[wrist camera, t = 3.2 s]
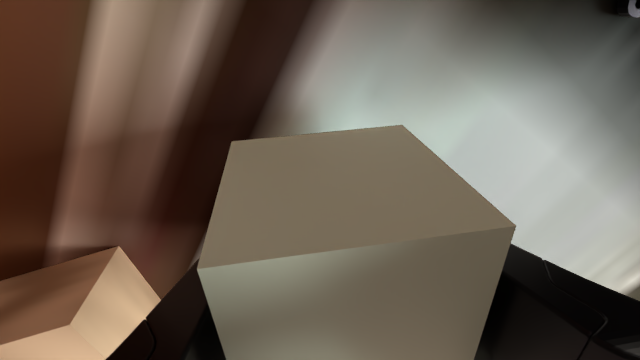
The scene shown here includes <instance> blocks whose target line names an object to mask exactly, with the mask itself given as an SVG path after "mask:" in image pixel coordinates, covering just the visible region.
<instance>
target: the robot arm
mask: <svg viewBox="0 0 640 360" xmlns="http://www.w3.org/2000/svg"><path fill="white" fill-rule="evenodd" d="M635 3H636V4H635ZM617 13H618V14H619V15H620V16H622V17H640V0H637V2H636V0H618V3H617ZM199 260H200V258H199V259H198V260H197V261H196V262H195V263H194V265H193V266H192V267H191V268H190V269H189V270H188V271H187V272H186V273H185V274H184V276H183V277H182V278H181V279H180V280H179V281H178V282H177V283H176V284H175V285H174V287H173V288H172V289H171V290H170V291H169V292H168V293H167V294H166V295H165V296H164V298H163V299H162V300H161V301H160V302H159V303H158V304H157V305H156V306H155V307H154V309H153V310H152V311H151V312H150V313H149V314H148V315H147V316H146V320H145V319H144V320H142V322H141V323H140V324H139V325H138V326H137V327H136V328H135V329H134V330H133V331H132V333H131V334H130V335H129V336H128V337H127V338H126V339H125V340H124V341H123V342H122V343H121V344H120V345H119V346H118V347H117V348H116V349H115V350H114V352H113V353H112V354H111V355H110V356H109V357H107V358H106V359H105V360H226V357H225V354H224V351H223V348H222V345H221V342H220V339H219V336H218V333H217V330H216V326H215V323H214V320H213V317H212V314H211V311H210V308H209V305H208V302H207V299H206V296H205V293H204V290H203V287H202V283H201V280H200V277H199V274H198V271H197V267H198V263H199ZM474 360H640V301H638V300H635V299H633V298H631V297H628V296H626V295H623V294H621V293H618V292H616V291H614V290H611V289H609V288H606V287H604V286H602V285H599V284H597V283H595V282H592V281H590V280H588V279H585V278H583V277H581V276H579V275H576V274H574V273H572V272H570V271H568V270H565V269H563V268H561V267H559V266H557V265H555V264H553V263H551V262H549V261H546V260H542V258H540V257H538V256H536V255H534V254H532V253H529V252H527V251H525V250H523V249H521V248H519V247H517V246H515V245H513V244H511V243H510V247H509V250H508V253H507V256H506V259H505V262H504V266H503V269H502V272H501V275H500V278H499V281H498V284H497V288H496V291H495V294H494V297H493V300H492V303H491V307H490V310H489V313H488V316H487V319H486V322H485V326H484V329H483V332H482V335H481V338H480V341H479V345H478V348H477V351H476V354H475V357H474Z"/></svg>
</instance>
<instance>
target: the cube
mask: <svg viewBox="0 0 640 360" xmlns="http://www.w3.org/2000/svg"><path fill="white" fill-rule="evenodd" d="M515 228H516V225H515V224H513V223H512V222H511V221H510V220H509V219H508V218H507V217H505V216H504V215H503V214H502V213H501V212H500V211H499V210H498V209H496V208H495V207H494V206H493V205H492V204H491V203H490V202H489V201H487V200H486V199H485V198H484V197H483V196H482V195H481V194H480V193H478V192H477V191H476V190H475V189H474V188H473V187H472V186H471V185H469V184H468V183H467V182H466V181H465V180H464V179H463V178H462V177H460V176H459V175H458V174H457V173H456V172H455V171H454V170H452V169H451V168H450V167H449V166H448V165H447V164H446V163H445V162H443V161H442V160H441V159H440V158H439V157H438V156H437V155H436V154H434V153H433V152H432V151H431V150H430V149H429V148H428V147H427V146H425V145H424V144H423V143H422V142H421V141H420V140H419V139H418V138H416V137H415V136H414V135H413V134H412V133H411V132H410V131H408V130H407V129H406V128H405V127H404V126H403V125H395V126H385V127H375V128H364V129H354V130H344V131H334V132H323V133H313V134H303V135H293V136H282V137H272V138H262V139H252V140H241V141H232V142H231V146H230V150H229V153H228V157H227V161H226V164H225V168H224V172H223V175H222V179H221V183H220V186H219V190H218V194H217V197H216V201H215V205H214V208H213V212H212V216H211V219H210V223H209V227H208V230H207V234H206V238H205V241H204V245H203V249H202V252H201V256H200V260H199V263H198V267H197V271H198V274H199V277H200V280H201V283H202V287H203V290H204V293H205V296H206V299H207V302H208V305H209V308H210V311H211V314H212V317H213V320H214V323H215V326H216V330H217V333H218V336H219V339H220V342H221V345H222V348H223V351H224V354H225V357H226V360H474V357H475V354H476V351H477V348H478V345H479V341H480V338H481V335H482V332H483V329H484V326H485V322H486V319H487V316H488V313H489V310H490V307H491V303H492V300H493V297H494V294H495V291H496V288H497V284H498V281H499V278H500V275H501V272H502V269H503V266H504V262H505V259H506V256H507V253H508V250H509V247H510V243H511V240H512V237H513V234H514V231H515Z"/></svg>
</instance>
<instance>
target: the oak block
mask: <svg viewBox="0 0 640 360" xmlns="http://www.w3.org/2000/svg"><path fill="white" fill-rule="evenodd" d="M160 301H161V300H160V298H159V297H158V296H157V294H156V293H155V292H154V291H153V289H152V288H151V287H150V285H149V284H148V283H147V282H146V280H145V279H144V278H143V276H142V275H141V274H140V272H139V271H138V270H137V269H136V267H135V266H134V265H133V263H132V262H131V261H130V260H129V258H128V257H127V256H126V254H125V253H124V252H123V250H122V249H121V248H120V247H119V246H117V247H114V248H110V249H107V250H104V251H100V252H97V253H94V254H90V255H87V256H83V257H80V258H77V259H73V260H70V261H66V262H63V263H60V264H56V265H53V266H50V267H46V268H43V269H39V270H36V271H33V272H29V273H26V274H23V275H19V276H16V277H12V278H9V279H6V280H2V281H0V360H105V359H106V358H107V357H109V356H110V355H111V354H112V353H113V352H114V350H115V349H116V348H117V347H118V346H119V345H120V344H121V343H122V342H123V341H124V340H125V339H126V338H127V337H128V336H129V335H130V334H131V333H132V331H133V330H134V329H135V328H136V327H137V326H138V325H139V324H140V323H141V322H142V320H144V319H145V320H146V316H147V315H148V314H149V313H150V312H151V311H152V310H153V309H154V307H155V306H156V305H157V304H158V303H159V302H160Z"/></svg>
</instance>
